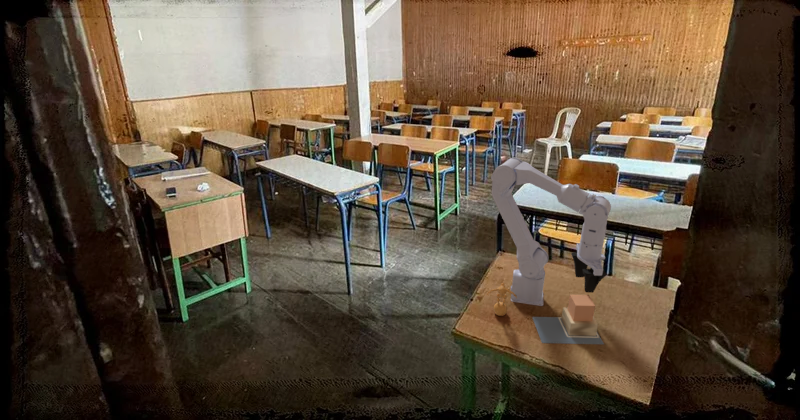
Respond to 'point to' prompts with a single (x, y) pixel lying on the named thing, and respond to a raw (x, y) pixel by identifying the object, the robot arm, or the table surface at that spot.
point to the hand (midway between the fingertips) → (584, 284)
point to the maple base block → (578, 325)
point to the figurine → (499, 307)
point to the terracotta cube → (581, 307)
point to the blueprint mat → (560, 332)
